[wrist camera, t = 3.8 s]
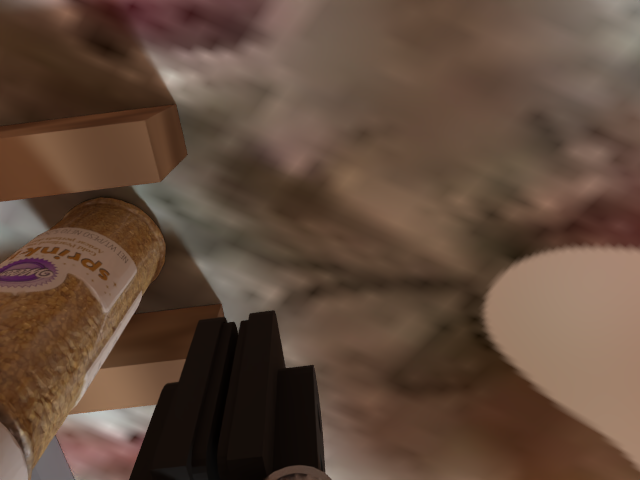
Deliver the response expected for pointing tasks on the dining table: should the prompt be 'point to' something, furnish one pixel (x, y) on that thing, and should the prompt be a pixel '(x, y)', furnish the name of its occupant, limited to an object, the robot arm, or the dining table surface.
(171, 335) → the channel
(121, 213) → the sprinkles bottle
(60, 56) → the dining table surface
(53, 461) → the cradle
